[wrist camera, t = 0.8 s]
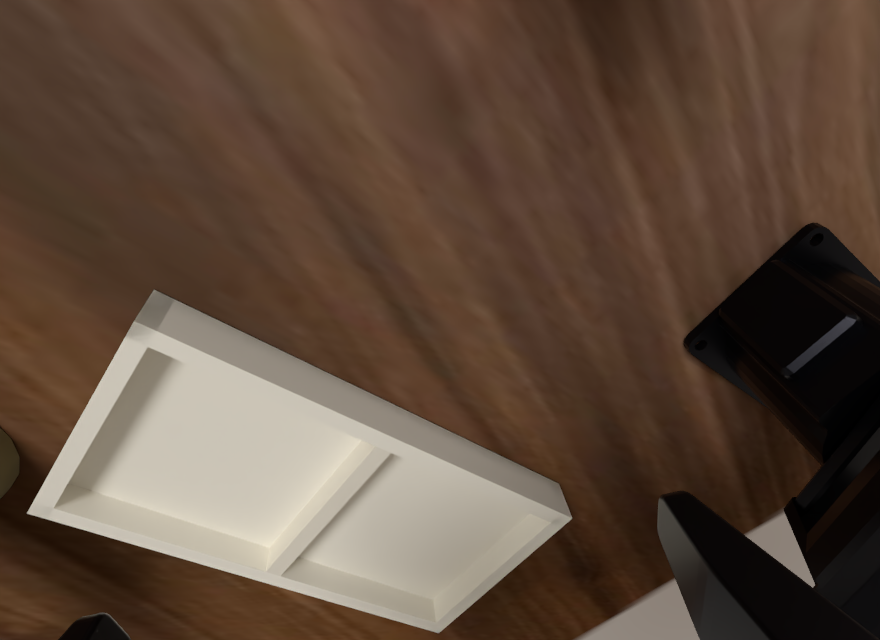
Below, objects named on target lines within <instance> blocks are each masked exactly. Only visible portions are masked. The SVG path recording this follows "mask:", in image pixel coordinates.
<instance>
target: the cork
mask: <svg viewBox="0 0 880 640" xmlns="http://www.w3.org/2000/svg"><path fill="white" fill-rule="evenodd" d="M19 461H20V457H19V455H18V452H17V450H16V448H15V446H14V444H13V442H12V440H11V438H10V437H9V436H8V435H7V434H6V433H5V432H4V431H3V430H2V429H1V428H0V499H1V498H2V497H3V495H4V494H5V493H6V492H7V491H8V490H9V489H10V488H11V486H12V484H13V483H14V481H15V480H16V478H17V476H18V475H19Z"/></svg>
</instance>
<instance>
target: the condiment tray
mask: <svg viewBox="0 0 880 640" xmlns="http://www.w3.org/2000/svg"><path fill="white" fill-rule="evenodd" d="M27 514H30V515H34V516H37V517H40V518H44V519H47V520H51V521H54V522H58V523H61V524H65V525H68V526H71V527H75V528H78V529H82V530H85V531H89V532H92V533H95V534H99V535H102V536H106V537H109V538H113V539H116V540H120V541H123V542H126V543H130V544H133V545H137V546H140V547H144V548H147V549H151V550H154V551H157V552H161V553H164V554H168V555H171V556H175V557H178V558H182V559H185V560H188V561H192V562H195V563H199V564H202V565H206V566H209V567H212V568H216V569H219V570H223V571H226V572H230V573H233V574H237V575H240V576H243V577H247V578H250V579H254V580H257V581H261V582H264V583H268V584H271V585H274V586H278V587H281V588H285V589H288V590H292V591H295V592H299V593H302V594H305V595H309V596H312V597H316V598H319V599H323V600H326V601H330V602H333V603H336V604H340V605H343V606H347V607H350V608H354V609H357V610H360V611H364V612H367V613H371V614H374V615H378V616H381V617H385V618H388V619H391V620H395V621H398V622H402V623H405V624H409V625H412V626H416V627H419V628H422V629H426V630H429V631H433V632H436V633H440V632H441V631H442V630H443V629H444V628H445V627H447V626H448V625H449V624H450V623H451V622H452V621H454V620H455V619H456V618H457V617H458V616H459V615H461V614H462V613H463V612H464V611H465V610H466V609H468V608H469V607H470V606H471V605H472V604H473V603H475V602H476V601H477V600H478V599H479V598H480V597H482V596H483V595H484V594H485V593H486V592H487V591H489V590H490V589H491V588H492V587H493V586H494V585H495V584H497V583H498V582H499V581H500V580H501V579H502V578H504V577H505V576H506V575H507V574H508V573H509V572H511V571H512V570H513V569H514V568H515V567H516V566H518V565H519V564H520V563H521V562H522V561H523V560H525V559H526V558H527V557H528V556H529V555H530V554H532V553H533V552H534V551H535V550H536V549H537V548H539V547H540V546H541V545H542V544H543V543H544V542H546V541H547V540H548V539H549V538H550V537H551V536H553V535H554V534H555V533H556V532H557V531H558V530H560V529H561V528H562V527H563V526H564V525H565V524H566V523H568V522H569V521H570V520H571V519H572V516H571V513H570V511H569V508H568V506H567V503H566V501H565V498H564V495H563V493H562V490H561V488H560V485H559V483H556V482H554V481H552V480H550V479H548V478H546V477H544V476H542V475H540V474H538V473H536V472H534V471H531V470H529V469H527V468H525V467H523V466H521V465H519V464H517V463H515V462H513V461H511V460H509V459H506V458H504V457H502V456H500V455H498V454H496V453H494V452H492V451H490V450H488V449H486V448H483V447H481V446H479V445H477V444H475V443H473V442H471V441H469V440H467V439H465V438H463V437H461V436H458V435H456V434H454V433H452V432H450V431H448V430H446V429H444V428H442V427H440V426H438V425H436V424H433V423H431V422H429V421H427V420H425V419H423V418H421V417H419V416H417V415H415V414H413V413H410V412H408V411H406V410H404V409H402V408H400V407H398V406H396V405H394V404H392V403H390V402H388V401H385V400H383V399H381V398H379V397H377V396H375V395H373V394H371V393H369V392H367V391H365V390H363V389H360V388H358V387H356V386H354V385H352V384H350V383H348V382H346V381H344V380H342V379H340V378H338V377H335V376H333V375H331V374H329V373H327V372H325V371H323V370H321V369H319V368H317V367H315V366H312V365H310V364H308V363H306V362H304V361H302V360H300V359H298V358H296V357H294V356H292V355H290V354H287V353H285V352H283V351H281V350H279V349H277V348H275V347H273V346H271V345H269V344H267V343H265V342H262V341H260V340H258V339H256V338H254V337H252V336H250V335H248V334H246V333H244V332H242V331H239V330H237V329H235V328H233V327H231V326H229V325H227V324H225V323H223V322H221V321H219V320H217V319H214V318H212V317H210V316H208V315H206V314H204V313H202V312H200V311H198V310H196V309H194V308H192V307H189V306H187V305H185V304H183V303H181V302H179V301H177V300H175V299H173V298H171V297H169V296H167V295H164V294H162V293H160V292H158V291H156V290H154V291H153V292H152V294H151V295H150V297H149V298H148V300H147V302H146V303H145V305H144V306H143V308H142V309H141V311H140V313H139V314H138V316H137V317H136V319H135V320H134V322H133V324H132V326H131V328H130V329H129V331H128V333H127V335H126V336H125V338H124V340H123V342H122V344H121V345H120V347H119V349H118V351H117V353H116V354H115V356H114V358H113V360H112V362H111V363H110V365H109V367H108V369H107V371H106V372H105V374H104V376H103V378H102V379H101V381H100V383H99V385H98V387H97V388H96V390H95V392H94V394H93V396H92V397H91V399H90V401H89V403H88V405H87V406H86V408H85V410H84V412H83V413H82V415H81V417H80V419H79V421H78V422H77V424H76V426H75V428H74V430H73V431H72V433H71V435H70V437H69V439H68V440H67V442H66V444H65V446H64V447H63V449H62V451H61V453H60V455H59V456H58V458H57V460H56V462H55V464H54V465H53V467H52V469H51V471H50V473H49V474H48V476H47V478H46V480H45V481H44V483H43V485H42V487H41V489H40V490H39V492H38V494H37V496H36V498H35V499H34V501H33V503H32V505H31V507H30V508H29V510H28V512H27Z"/></svg>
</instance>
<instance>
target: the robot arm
mask: <svg viewBox="0 0 880 640" xmlns="http://www.w3.org/2000/svg"><path fill="white" fill-rule="evenodd" d="M815 234H816V235H815ZM814 235H815V237H814V238H813V239H812V240H811V241H810V239H811V238H812V237H813V236H814ZM699 341H701V342H700V343H698V344H697V345H696V343H697V342H699ZM684 346H685V347H686V348H687V349H688V351H689V352H690V353H691V354H692V355H693V356H695V357H696V358H698V359H699V360H701V361H702V362H703V363H705V364H706V365H708V366H709V367H710V368H712V369H713V370H715V371H716V372H717V373H719V374H720V375H722V376H723V377H725V378H726V379H727V380H729V381H730V382H732V383H733V384H734V385H736V386H737V387H739V388H740V389H741V390H743V391H744V392H746V393H747V394H749V395H750V396H751V397H753V398H754V399H756V400H757V401H758V402H760V403H761V404H763V405H764V406H765V407H767V408H768V409H769V410H770V411H771V412H772V413H773V414H774V415H775V416H776V417H777V418H778V419H779V420H780V421H781V422H782V424H783V425H784V426H785V427H786V428H787V429H788V430H789V431H790V432H791V433H792V434H793V435H794V436H795V437H796V439H797V440H798V441H799V442H800V443H801V444H802V445H803V446H804V447H805V448H806V449H807V450H808V451H809V452H810V453H811V455H812V456H813V457H814V458H815V459H816V460H817V461H818V462H819V463H820V464H821V465H822V466H821V468H820V469H819V470H818V471H817V473H816V474H815V475H814V476H813V478H812V479H811V480H810V481H809V483H808V484H807V485H806V486H805V488H804V489H803V490H802V491H801V492H800V494H799V495H798V496H797V497H793V498H792V499H791V500H790V501H789V503H788V504H787V505H786V506H785V508H784V512H785V514H786V516H787V519H788V521H789V523H790V525H791V528H792V530H793V533H794V535H795V537H796V540H797V542H798V545H799V547H800V549H801V552H802V554H803V556H804V559H805V561H806V563H807V566H808V568H809V571H810V573H811V575H812V578H813V580H814V582H815V586H814V587H813V588H812V587H811V586H810V585H808V584H807V583H806V582H804V581H803V580H802V579H800V578H799V577H798V576H797V575H795V574H794V573H793V572H791V571H790V570H788V569H787V568H786V567H785V566H783V565H782V564H781V563H779V562H778V561H777V560H776V559H774V558H773V557H772V556H770V555H769V554H768V553H766V552H765V551H764V550H763V549H761V548H760V547H759V546H757V545H756V544H755V543H754V542H752V541H751V540H750V539H748V538H747V537H746V536H745V535H743V534H742V533H741V532H739V531H738V530H737V529H735V528H734V527H733V526H732V525H730V524H729V523H728V522H726V521H725V520H724V519H722V518H721V517H720V516H719V515H717V514H716V513H715V512H713V511H712V510H711V509H709V508H708V507H707V506H706V505H704V504H703V503H702V502H700V501H699V500H698V499H696V498H695V497H694V496H693V495H691V494H690V493H688V492H686V491H677V492H672V493H668V494H663V495H661V496H660V498H659V502H658V524H657V528H658V534H659V538H660V541H661V544H662V546H663V549H664V551H665V554H666V556H667V559H668V561H669V564H670V566H671V569H672V571H673V574H674V576H675V579H676V581H677V584H678V586H679V589H680V591H681V594H682V596H683V599H684V601H685V604H686V606H687V609H688V611H689V614H690V617H691V619H692V621H693V624H694V626H695V628H696V631H697V634H698V636H699V638H700V640H880V281H879V280H878V279H877V278H876V277H875V276H874V275H873V274H872V273H871V272H870V271H869V270H868V269H867V268H866V267H865V266H864V265H863V264H862V263H861V262H860V261H859V260H858V259H857V258H856V257H855V256H854V255H853V254H852V253H851V252H850V251H849V250H848V249H847V248H846V247H845V246H844V245H843V244H842V243H841V242H840V241H839V240H838V238H837V237H836V236H835V235H834V234H833V233H832V232H831V231H830V230H829V229H827V228H825V227H824V226H822V225H820V224H818V223H811V224H808V225H806V226H805V227H803V228H802V229H801V230H800V231H799V232H798V233H797V234H795V235H794V236H793V237H792V238H791V239H790V240H789V241H788V242H787V243H786V244H785V245H784V246H783V247H781V248H780V249H779V250H778V251H777V252H776V253H775V254H774V255H773V256H772V257H771V258H770V259H769V260H768V261H766V262H765V263H764V264H763V265H762V266H761V267H760V268H759V269H758V270H757V271H756V272H755V273H754V274H753V275H751V276H750V277H749V278H748V279H747V280H746V281H745V282H744V283H743V284H742V285H741V286H740V287H739V288H737V289H736V290H735V291H734V292H733V293H732V294H731V295H730V296H729V297H728V298H727V299H726V300H725V301H724V302H722V303H721V304H720V305H719V306H718V307H717V308H716V309H715V310H714V311H713V312H712V313H711V314H710V315H708V316H707V317H706V318H705V319H704V320H703V321H702V322H701V323H700V324H699V325H698V326H697V327H696V328H695V329H693V330H692V331H691V332H690V333H689V334H688V335H687V337H686V338H685V340H684ZM58 640H131V639H130V637H129V635H128V634H127V633H126V632H125V631H124V630H123V629H122V628H121V627H120V626H119V625H118V623H117V622H116V621H115V620H114V619H113V618H112V617H111V616H110V615H109V614H107V613H98V614H94V615H89V616H84V617H82V618H79V619H78V620H76V621H75V622H74V623H73V624H72V625H71V626H70V627H69V628H68V629H67V630H66V632H65V633H64V634H63V635H62V636H61V637H60V638H59V639H58Z"/></svg>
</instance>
